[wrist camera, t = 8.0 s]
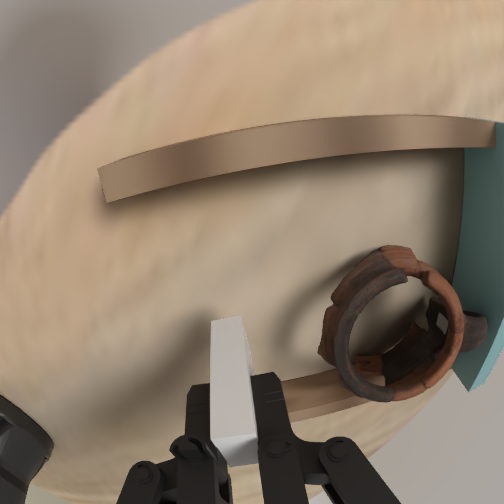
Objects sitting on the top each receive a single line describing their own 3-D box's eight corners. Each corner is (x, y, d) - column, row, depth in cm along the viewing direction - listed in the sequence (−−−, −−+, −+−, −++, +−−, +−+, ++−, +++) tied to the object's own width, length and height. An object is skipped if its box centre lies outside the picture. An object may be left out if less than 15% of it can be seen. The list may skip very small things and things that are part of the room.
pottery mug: (317, 370, 21) (315, 427, 13) (315, 250, 21) (314, 248, 13) (454, 356, 18) (502, 395, 10) (459, 242, 19) (518, 237, 11)
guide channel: (211, 403, 21) (211, 434, 18) (121, 158, 13) (97, 168, 10) (435, 346, 21) (451, 368, 18) (462, 117, 13) (495, 121, 10)
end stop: (435, 346, 21) (468, 392, 16) (462, 117, 13) (534, 129, 7) (451, 339, 21) (484, 382, 16) (480, 118, 13) (548, 132, 7)
